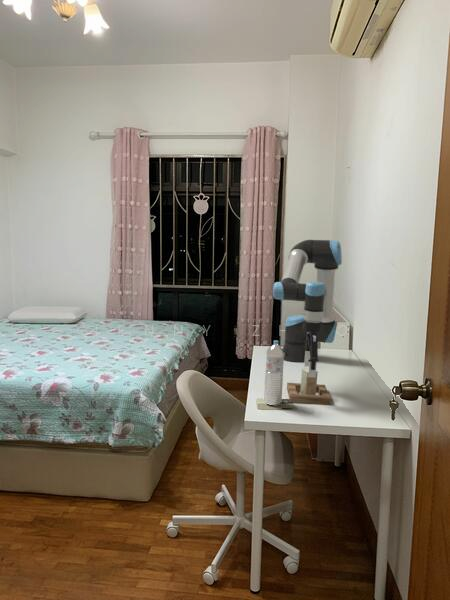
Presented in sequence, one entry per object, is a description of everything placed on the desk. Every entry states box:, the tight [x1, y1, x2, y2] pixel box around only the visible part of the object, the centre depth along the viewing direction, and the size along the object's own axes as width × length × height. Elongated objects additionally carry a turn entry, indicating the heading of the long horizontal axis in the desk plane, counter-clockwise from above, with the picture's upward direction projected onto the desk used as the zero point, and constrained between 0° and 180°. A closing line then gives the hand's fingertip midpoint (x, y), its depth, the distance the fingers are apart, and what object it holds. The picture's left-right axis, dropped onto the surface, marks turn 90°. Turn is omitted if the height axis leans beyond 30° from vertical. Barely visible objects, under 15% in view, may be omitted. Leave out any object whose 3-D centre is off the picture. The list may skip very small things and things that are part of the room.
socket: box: [286, 382, 333, 406], centre depth 177 cm, size 16×16×2 cm
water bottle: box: [263, 340, 285, 407], centre depth 166 cm, size 7×7×25 cm
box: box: [299, 368, 319, 395], centre depth 176 cm, size 5×4×11 cm
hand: (309, 371), depth 176 cm, fingers open, 13 cm apart
